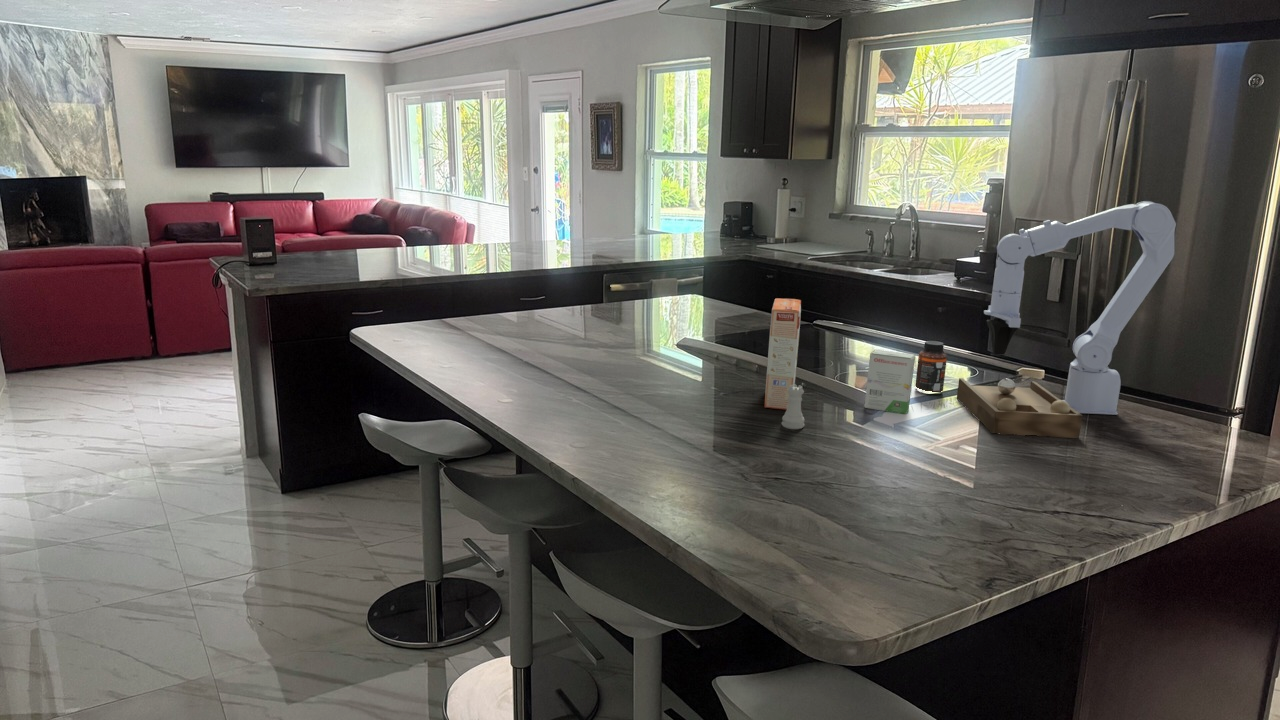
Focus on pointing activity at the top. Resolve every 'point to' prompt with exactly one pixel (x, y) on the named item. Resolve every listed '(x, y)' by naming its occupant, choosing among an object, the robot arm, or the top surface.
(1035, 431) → the board
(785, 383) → the cracker box
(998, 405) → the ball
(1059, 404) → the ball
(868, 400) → the ink box
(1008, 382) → the steel ball
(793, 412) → the rook chess piece
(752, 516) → the top surface
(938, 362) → the supplement bottle
